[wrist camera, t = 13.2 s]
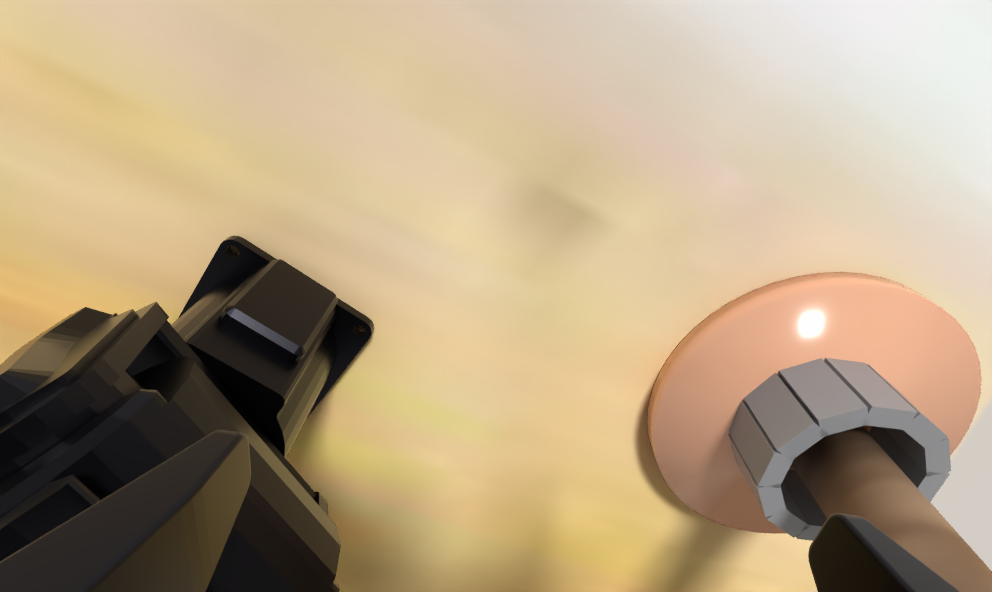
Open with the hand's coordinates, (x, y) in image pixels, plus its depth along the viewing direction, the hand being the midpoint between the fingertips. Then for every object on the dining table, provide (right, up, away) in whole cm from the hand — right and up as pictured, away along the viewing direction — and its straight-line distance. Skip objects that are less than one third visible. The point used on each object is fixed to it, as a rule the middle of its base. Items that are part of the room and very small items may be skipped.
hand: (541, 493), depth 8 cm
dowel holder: (+13, -2, +15) cm, 20 cm away
